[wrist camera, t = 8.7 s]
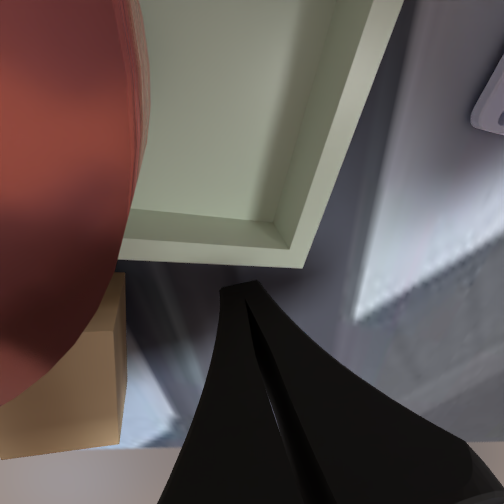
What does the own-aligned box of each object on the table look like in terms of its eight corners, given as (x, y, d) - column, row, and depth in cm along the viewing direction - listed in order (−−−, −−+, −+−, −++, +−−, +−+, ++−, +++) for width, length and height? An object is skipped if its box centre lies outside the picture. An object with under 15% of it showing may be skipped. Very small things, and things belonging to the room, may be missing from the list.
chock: (126, 268, 10) (112, 331, 8) (127, 376, 13) (119, 444, 11) (-2, 264, 9) (-59, 335, 7) (33, 383, 12) (1, 460, 10)
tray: (379, -97, 6) (463, -156, 4) (279, 231, 10) (302, 268, 9) (-377, -490, 3) (-1067, -1176, 1) (-95, 197, 7) (-181, 244, 5)
